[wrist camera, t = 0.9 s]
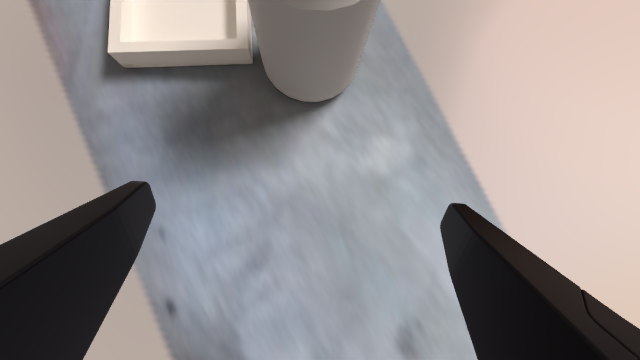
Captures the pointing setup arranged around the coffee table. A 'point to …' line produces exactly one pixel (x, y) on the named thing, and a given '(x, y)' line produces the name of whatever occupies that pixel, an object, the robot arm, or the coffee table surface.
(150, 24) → the tray
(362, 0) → the can
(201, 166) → the coffee table surface
